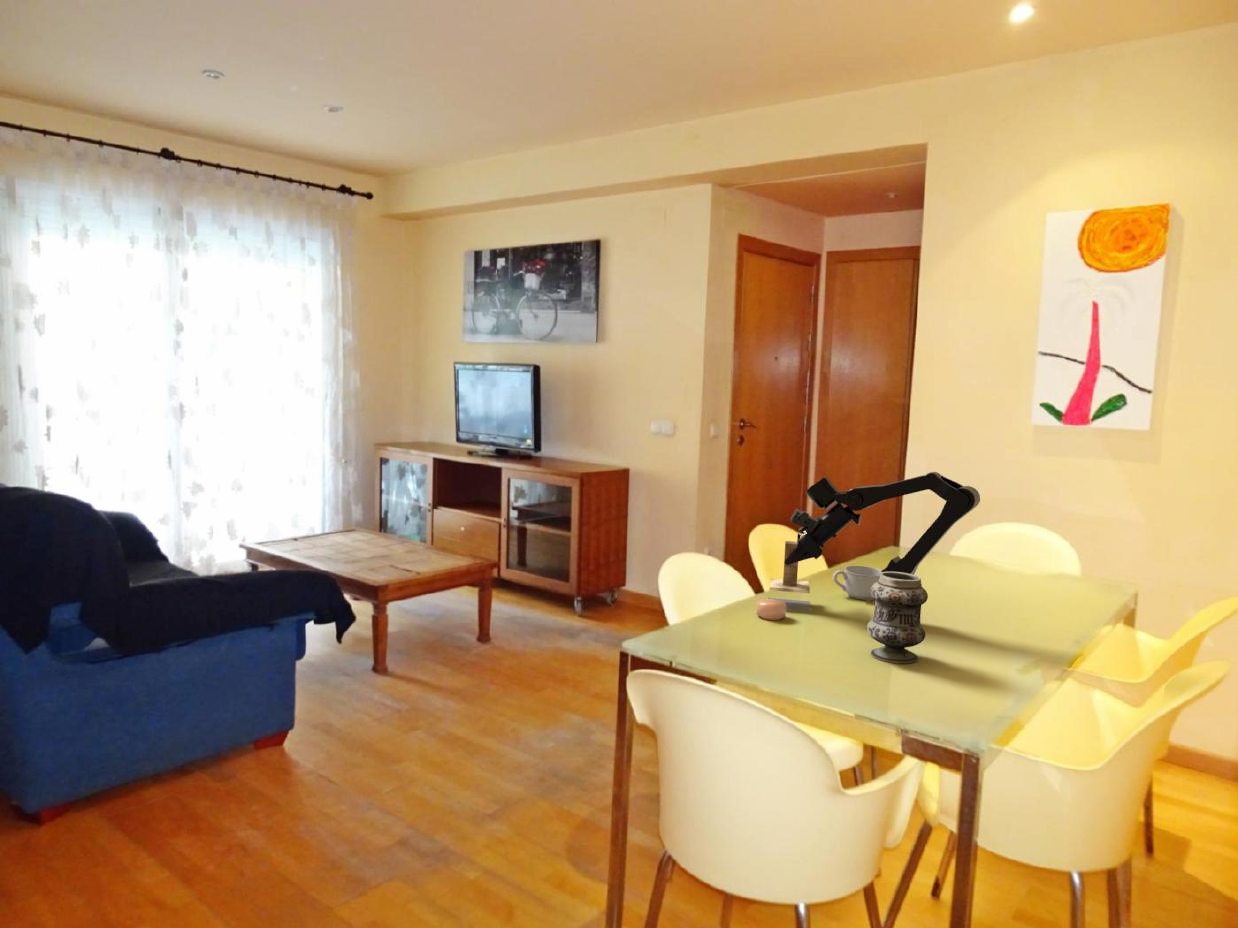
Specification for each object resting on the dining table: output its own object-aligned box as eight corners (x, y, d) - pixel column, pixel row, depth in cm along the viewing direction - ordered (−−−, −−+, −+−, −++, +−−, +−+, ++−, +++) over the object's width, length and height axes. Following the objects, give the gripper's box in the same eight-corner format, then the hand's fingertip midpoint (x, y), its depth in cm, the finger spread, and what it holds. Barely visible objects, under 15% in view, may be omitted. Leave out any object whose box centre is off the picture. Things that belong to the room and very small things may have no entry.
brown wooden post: (808, 584, 232) (811, 540, 230) (809, 593, 222) (812, 547, 221) (770, 581, 234) (773, 537, 232) (769, 590, 224) (772, 544, 223)
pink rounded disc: (789, 622, 213) (790, 606, 213) (762, 622, 212) (763, 606, 211) (779, 614, 220) (779, 598, 220) (752, 614, 219) (753, 599, 218)
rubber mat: (809, 602, 233) (809, 601, 233) (810, 613, 222) (810, 612, 222) (767, 599, 235) (767, 597, 235) (766, 609, 224) (766, 608, 224)
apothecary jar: (928, 654, 192) (934, 574, 190) (916, 669, 182) (923, 585, 180) (873, 644, 198) (878, 566, 196) (858, 658, 188) (864, 576, 186)
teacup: (878, 594, 245) (880, 566, 244) (886, 604, 234) (888, 575, 234) (828, 591, 246) (830, 563, 246) (833, 601, 236) (835, 571, 235)
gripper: (809, 494, 234) (765, 532, 237) (811, 504, 216) (763, 545, 219) (838, 526, 233) (793, 563, 236) (841, 538, 215) (793, 578, 218)
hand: (785, 561), depth 227 cm, fingers closed on brown wooden post, 3 cm apart
